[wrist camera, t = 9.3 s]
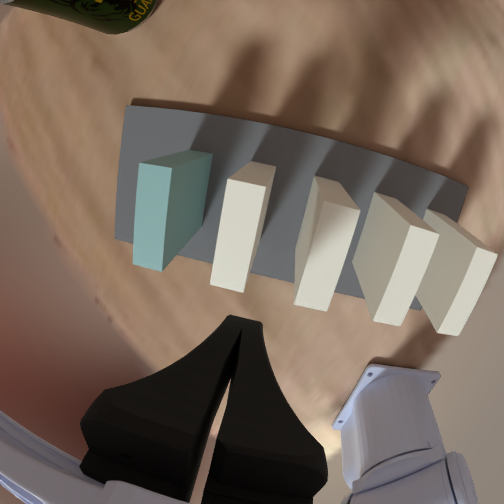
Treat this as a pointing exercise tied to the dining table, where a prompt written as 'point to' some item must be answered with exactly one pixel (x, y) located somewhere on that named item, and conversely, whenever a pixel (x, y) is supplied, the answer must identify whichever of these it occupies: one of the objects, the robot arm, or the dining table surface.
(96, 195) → the dining table surface
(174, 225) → the teal domino
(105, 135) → the dining table surface
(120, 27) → the green drink can
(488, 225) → the dining table surface
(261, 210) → the ivory domino
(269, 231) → the charcoal mat
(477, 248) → the ivory domino
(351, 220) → the ivory domino
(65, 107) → the dining table surface
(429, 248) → the ivory domino
